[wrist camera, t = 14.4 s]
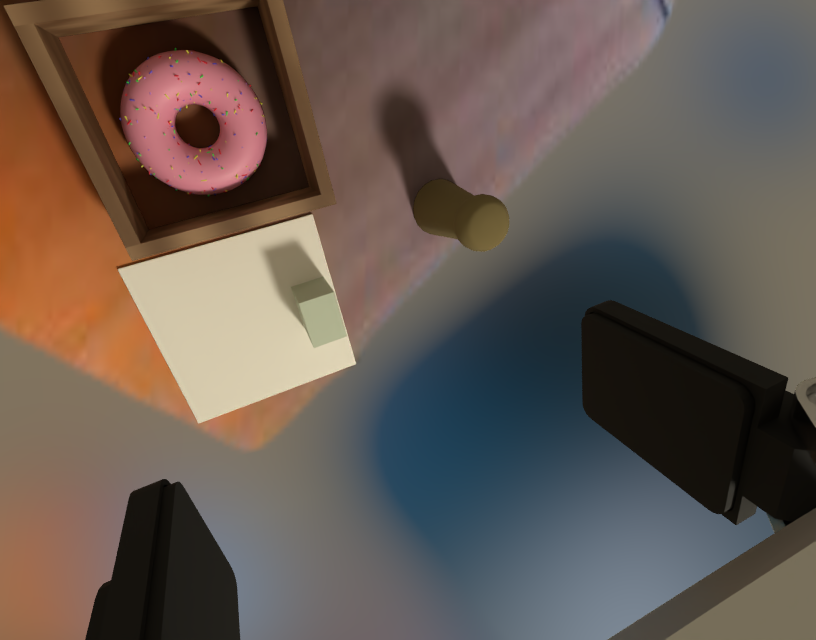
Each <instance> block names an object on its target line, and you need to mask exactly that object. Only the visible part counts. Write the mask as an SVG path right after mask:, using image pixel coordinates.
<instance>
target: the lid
mask: <svg viewBox="0 0 816 640" xmlns="http://www.w3.org/2000/svg"><path fill="white" fill-rule="evenodd" d="M118 271H119V273H120V275H121V277H122V279H123V280H124V282H125V284H126V286H127V288H128V290H129V292H130V294H131V296H132V298H133V299H134V301H135V303H136V305H137V307H138V309H139V311H140V313H141V315H142V317H143V318H144V320H145V322H146V324H147V326H148V328H149V330H150V332H151V334H152V336H153V338H154V339H155V341H156V343H157V345H158V347H159V349H160V351H161V353H162V355H163V357H164V358H165V360H166V362H167V364H168V366H169V368H170V370H171V372H172V374H173V376H174V377H175V379H176V381H177V383H178V385H179V387H180V389H181V391H182V393H183V395H184V397H185V398H186V400H187V402H188V404H189V406H190V408H191V410H192V412H193V414H194V416H195V417H196V419H197V421H198V423H201V422H204V421H207V420H209V419H212V418H215V417H217V416H220V415H222V414H225V413H228V412H230V411H233V410H236V409H238V408H241V407H244V406H246V405H249V404H252V403H254V402H257V401H260V400H262V399H265V398H267V397H270V396H273V395H275V394H278V393H281V392H283V391H286V390H289V389H291V388H294V387H297V386H299V385H302V384H304V383H307V382H310V381H312V380H315V379H318V378H320V377H323V376H326V375H328V374H331V373H334V372H336V371H339V370H341V369H344V368H347V367H349V366H352V365H355V364H356V362H355V359H354V355H353V352H352V348H351V345H350V341H349V338H348V335H347V331H346V328H345V324H344V321H343V317H342V314H341V311H340V307H339V304H338V300H337V297H336V293H335V290H334V287H333V283H332V280H331V276H330V273H329V269H328V266H327V263H326V259H325V256H324V252H323V249H322V245H321V242H320V239H319V235H318V232H317V228H316V225H315V221H314V218H313V215H312V214H310V215H307V216H303V217H300V218H296V219H292V220H289V221H285V222H282V223H278V224H275V225H271V226H268V227H264V228H261V229H257V230H254V231H250V232H246V233H243V234H239V235H236V236H232V237H229V238H225V239H222V240H218V241H215V242H211V243H207V244H204V245H200V246H197V247H193V248H190V249H186V250H183V251H179V252H176V253H172V254H169V255H165V256H161V257H158V258H154V259H151V260H147V261H144V262H140V263H137V264H133V265H130V266H126V267H122V268H119V269H118Z"/></svg>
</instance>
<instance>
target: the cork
mask: <svg viewBox="0 0 816 640" xmlns="http://www.w3.org/2000/svg"><path fill="white" fill-rule="evenodd" d="M413 211H414V218H415V220H416V222H417V224H418V226H419V227H420V228H421V229H422V230H423V231H425V232H427V233H429V234H433V235H438V236H444V237H449V238H454V239H458V240H459V241H460V242H461V243H462V245H463V246H465V247H467V248H469V249H471V250H473V251H487V250H491V249H492V248H494V247H496V246H497V245H499V244H500V243H501V241H502V240H503V239H504V238H505V236H506V234H507V232H508V228H509V215H508V211H507V209H506V207H505V205H504V204H503V203H502V202H501V201H500V200H499V199H497V198H495V197H494V196H491V195H485V194H480V195H476V196H474V195H472V194H471V193H469V192H467V191H465V190H464V189H462V188H460V187H459V186H457V185H455V184H453V183H452V182H450V181H448V180H444V179H437V180H432V181H430V182H429V183H427V184H425V185H424V186H423V187H422V188H421V189H420V191H419V192H418V194H417V196H416V198H415V201H414V207H413Z"/></svg>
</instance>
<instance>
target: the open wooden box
mask: <svg viewBox="0 0 816 640" xmlns="http://www.w3.org/2000/svg"><path fill="white" fill-rule="evenodd" d="M256 6H257V7H258V10H259V14H260V17H261V20H262V24H263V27H264V31H265V34H266V38H267V41H268V45H269V48H270V52H271V55H272V59H273V62H274V66H275V69H276V73H277V76H278V80H279V83H280V87H281V90H282V94H283V97H284V101H285V104H286V108H287V111H288V115H289V118H290V121H291V125H292V128H293V132H294V135H295V139H296V142H297V146H298V149H299V153H300V156H301V160H302V163H303V167H304V170H305V174H306V177H307V181H308V184H309V187H308V188H304V189H300V190H296V191H292V192H289V193H285V194H281V195H277V196H274V197H270V198H266V199H262V200H259V201H255V202H251V203H247V204H244V205H240V206H236V207H232V208H229V209H225V210H221V211H217V212H214V213H210V214H206V215H202V216H199V217H195V218H191V219H187V220H184V221H180V222H176V223H172V224H169V225H165V226H161V227H157V228H154V229H150V230H149V229H148V227H147V225H146V223H145V221H144V219H143V217H142V215H141V212H140V210H139V208H138V206H137V204H136V202H135V200H134V198H133V195H132V193H131V191H130V189H129V187H128V185H127V183H126V181H125V178H124V176H123V174H122V172H121V170H120V168H119V166H118V163H117V161H116V159H115V157H114V155H113V153H112V151H111V149H110V146H109V144H108V142H107V140H106V138H105V136H104V134H103V132H102V129H101V127H100V125H99V123H98V121H97V119H96V117H95V115H94V112H93V110H92V108H91V106H90V104H89V102H88V100H87V98H86V95H85V93H84V91H83V89H82V87H81V85H80V83H79V80H78V78H77V76H76V74H75V72H74V70H73V68H72V66H71V63H70V61H69V59H68V57H67V55H66V53H65V51H64V49H63V46H62V44H61V42H60V40H59V38H58V37H64V36H70V35H77V34H83V33H89V32H96V31H102V30H109V29H115V28H121V27H128V26H134V25H141V24H147V23H153V22H160V21H166V20H173V19H179V18H185V17H192V16H198V15H204V14H211V13H217V12H224V11H230V10H236V9H243V8H249V7H256ZM4 7H5V9H6V11H7V13H8V15H9V17H10V19H11V21H12V23H13V25H14V27H15V29H16V31H17V33H18V35H19V37H20V39H21V41H22V43H23V45H24V47H25V49H26V51H27V53H28V55H29V57H30V59H31V61H32V63H33V65H34V67H35V69H36V71H37V73H38V75H39V77H40V79H41V81H42V83H43V85H44V87H45V89H46V91H47V93H48V95H49V97H50V99H51V101H52V103H53V105H54V107H55V109H56V111H57V113H58V115H59V117H60V119H61V121H62V123H63V125H64V127H65V129H66V130H67V132H68V134H69V136H70V138H71V140H72V142H73V144H74V146H75V148H76V150H77V152H78V154H79V156H80V158H81V160H82V162H83V164H84V166H85V168H86V170H87V172H88V174H89V176H90V178H91V180H92V182H93V184H94V186H95V188H96V190H97V192H98V194H99V196H100V198H101V200H102V202H103V204H104V206H105V208H106V210H107V212H108V214H109V216H110V218H111V220H112V222H113V224H114V226H115V228H116V230H117V232H118V234H119V236H120V238H121V240H122V242H123V244H124V246H125V248H126V250H127V252H128V254H129V256H130V258H131V260H132V261H134V260H138V259H141V258H145V257H148V256H152V255H156V254H159V253H163V252H166V251H170V250H173V249H177V248H180V247H184V246H188V245H191V244H195V243H198V242H202V241H205V240H209V239H213V238H216V237H220V236H223V235H227V234H230V233H234V232H238V231H241V230H245V229H248V228H252V227H255V226H259V225H263V224H266V223H270V222H273V221H277V220H280V219H284V218H288V217H291V216H295V215H298V214H302V213H305V212H309V211H312V210H316V209H320V208H323V207H327V206H330V205H334V204H336V200H335V196H334V192H333V189H332V185H331V181H330V177H329V173H328V170H327V166H326V162H325V158H324V155H323V151H322V147H321V143H320V139H319V136H318V132H317V128H316V124H315V120H314V117H313V113H312V109H311V105H310V102H309V98H308V94H307V90H306V86H305V83H304V79H303V75H302V71H301V67H300V64H299V60H298V56H297V52H296V49H295V45H294V41H293V37H292V33H291V30H290V26H289V22H288V18H287V14H286V11H285V7H284V3H283V0H41V1H33V2H26V3H19V4H12V5H4Z"/></svg>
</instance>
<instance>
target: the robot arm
mask: <svg viewBox="0 0 816 640" xmlns="http://www.w3.org/2000/svg"><path fill="white" fill-rule="evenodd" d="M581 325H582V389H583V390H582V391H583V392H582V395H583V408H584V410H585V412H586V414H587V415H588V416H589V417H590V418H591V419H592V420H594V421H595V422H596V423H597V424H599V425H600V426H601V427H602V428H604V429H605V430H606V431H608V432H609V433H610V434H612V435H613V436H614V437H615V438H617V439H618V440H619V441H621V442H622V443H623V444H624V445H626V446H627V447H628V448H630V449H631V450H632V451H633V452H635V453H636V454H637V455H639V456H640V457H641V458H642V459H644V460H645V461H646V462H648V463H649V464H650V465H652V466H653V467H654V468H655V469H657V470H658V471H659V472H661V473H662V474H663V475H664V476H666V477H667V478H668V479H670V480H671V481H672V482H673V483H675V484H676V485H678V486H679V487H680V488H681V489H682V490H684V491H685V492H686V493H688V494H689V495H690V496H691V497H693V498H694V499H695V500H697V501H698V502H699V503H701V504H702V505H703V506H704V507H706V508H707V509H708V510H710V511H711V512H713V513H716V514H722V515H723V516H724V517H726V518H727V519H729V520H730V521H731V522H732V523H734V524H735V525H737V524H739V523H741V522H742V521H744V520H746V519H747V518H749V517H750V516H752V515H754V514H755V512H756V508H757V506H758V507H759V508H760V509H762V510H763V511H765V512H766V513H767V515H768V518H769V521H770V523H771V526H772V528H773V530H774V533H775V534H773V535H771V536H770V537H768V538H767V539H765V540H764V541H762V542H760V543H759V544H757V545H756V546H754V547H752V548H751V549H749V550H748V551H746V552H745V553H743V554H741V555H740V556H738V557H737V558H735V559H734V560H732V561H730V562H729V563H727V564H726V565H724V566H722V567H721V568H719V569H718V570H716V571H715V572H713V573H711V574H710V575H708V576H706V577H705V578H703V579H702V580H700V581H699V582H697V583H695V584H694V585H692V586H691V587H689V588H688V589H686V590H684V591H683V592H681V593H680V594H678V595H677V596H675V597H674V598H672V599H671V600H669V601H667V602H666V603H664V604H663V605H661V606H659V607H658V608H656V609H655V610H653V611H652V612H650V613H648V614H647V615H645V616H644V617H642V618H641V619H639V620H637V621H636V622H634V623H633V624H631V625H630V626H628V627H627V628H625V629H623V630H622V631H620V632H619V633H617V634H616V635H614V636H612V637H611V638H609V639H608V640H816V377H815V378H811V379H807V380H804V381H803V382H801V383H800V384H798V385H797V387H796V390H795V394H792V393H790V392H788V391H785V389H786V385H787V381H788V377H786V376H783V375H781V374H779V373H777V372H774V371H772V370H770V369H767V368H765V367H763V366H761V365H758V364H756V363H754V362H752V361H749V360H747V359H745V358H742V357H740V356H738V355H736V354H733V353H731V352H729V351H727V350H724V349H722V348H720V347H717V346H715V345H713V344H711V343H708V342H706V341H704V340H702V339H699V338H697V337H695V336H693V335H690V334H688V333H686V332H683V331H681V330H679V329H677V328H674V327H672V326H670V325H668V324H665V323H663V322H661V321H659V320H656V319H654V318H652V317H649V316H647V315H645V314H643V313H640V312H638V311H636V310H634V309H631V308H629V307H627V306H624V305H622V304H620V303H618V302H615V301H612V300H610V301H606V302H603V303H601V304H598V305H596V306H593V307H591V308H589V309H587V311H586V313H585V317H583V319H582V324H581ZM85 640H240V629H239V612H238V595H237V584H236V579H235V575H234V572H233V570H232V568H231V566H230V564H229V562H228V561H227V559H226V557H225V556H224V554H223V552H222V551H221V549H220V547H219V546H218V544H217V542H216V541H215V539H214V537H213V535H212V534H211V532H210V530H209V529H208V527H207V525H206V524H205V522H204V520H203V519H202V517H201V516H200V514H199V512H198V510H197V509H196V507H195V505H194V503H193V502H192V500H191V498H190V497H189V495H188V493H187V492H186V490H185V488H184V487H183V485H182V484H181V483H180V482H176V483H173V484H170V483H169V481H168V480H166V479H162V480H160V481H158V482H155V483H153V484H150V485H148V486H145V487H142V488H140V489H138V490H135V491H133V492H132V493H131V494H130V497H129V501H128V505H127V510H126V515H125V519H124V524H123V528H122V533H121V537H120V542H119V547H118V551H117V556H116V561H115V565H114V570H113V575H112V580H111V581H108V582H106V583H104V584H103V585H102V586H101V587H100V589H99V590H98V593H97V595H96V598H95V602H94V606H93V610H92V614H91V619H90V622H89V627H88V631H87V635H86V639H85Z"/></svg>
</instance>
